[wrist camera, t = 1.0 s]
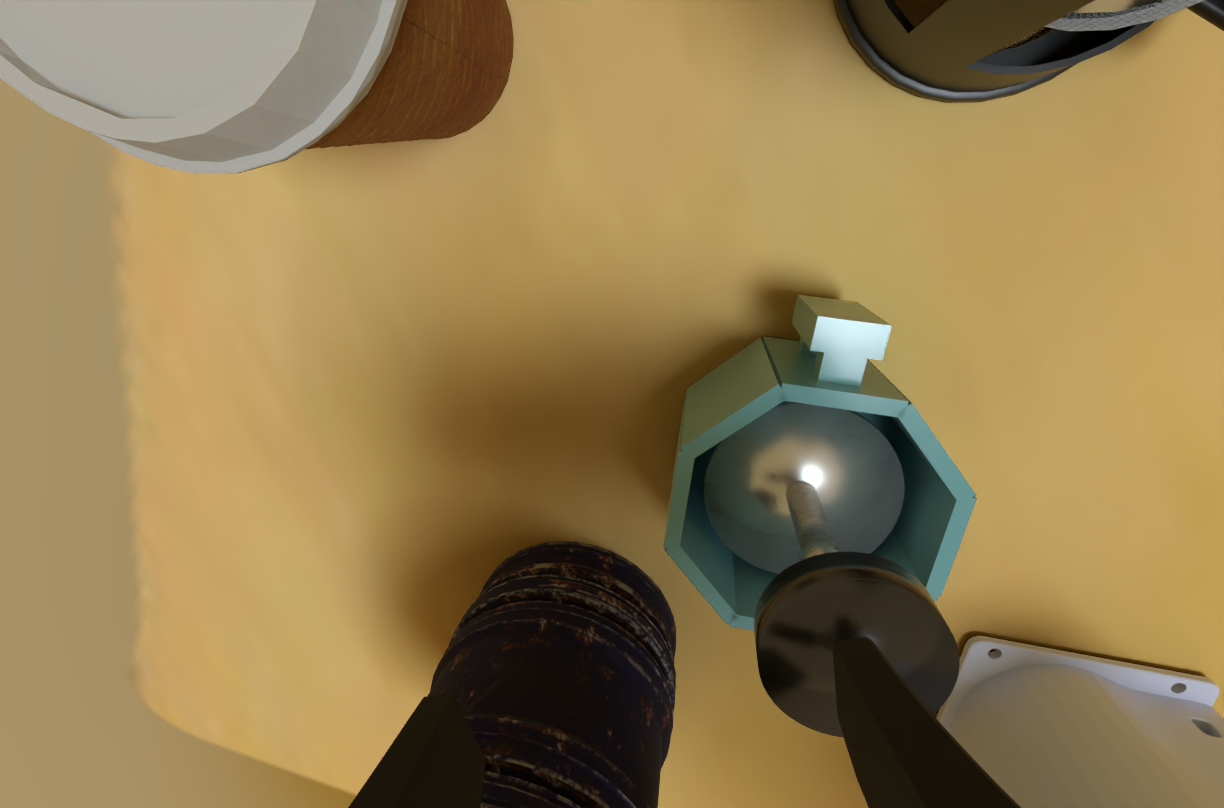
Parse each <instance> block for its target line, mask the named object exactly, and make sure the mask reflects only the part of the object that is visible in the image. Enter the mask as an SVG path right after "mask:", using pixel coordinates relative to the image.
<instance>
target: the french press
mask: <svg viewBox="0 0 1224 808" xmlns="http://www.w3.org/2000/svg"><path fill="white" fill-rule="evenodd" d="M834 1H835V5H836V9H837V13H838V17H839V19H840V21H841V23H842V25H843V27H844V29H845V31H846V33H847V35H848V37H849V39H850V41H851V43H852V45H853V46H854V47H855V49H856V50H857V51H858V52H859V54H860V55H861V56H862V57H863V59H864V60H865V61H866V62H867V64H868V65H869V66H870V67H871V68H872V69H874V70H875V71H876V72H877V73H879V74H880V75H881V76H883V77H884V78H885V79H886V80H888V81H889V82H890V83H891V84H893V85H895V86H897V87H899V88H901V89H904V90H906V91H908V92H910V93H912V94H915V95H917V96H919V97H924V98H929V99H934V100H938V101H943V102H948V103H952V102H983V101H988V100H992V99H997V98H1002V97H1007V96H1011V95H1015V94H1017V93H1020V92H1022V91H1025V90H1027V89H1030V88H1032V87H1035V86H1037V85H1040V84H1042V83H1045V82H1047V81H1049V80H1051V79H1053V78H1055V77H1056V76H1058V75H1059V74H1061V73H1063V72H1064V71H1066V70H1068V69H1069V68H1071V67H1073V66H1074V65H1076V64H1078V63H1079V62H1081V61H1084V60H1086V59H1089V58H1091V57H1094V56H1096V55H1098V54H1101V53H1103V52H1106V51H1108V50H1110V49H1112V48H1114V47H1115V46H1117V45H1119V44H1120V43H1122V42H1124V41H1125V40H1127V39H1129V38H1130V37H1132V36H1134V35H1135V34H1137V33H1139V32H1140V31H1142V30H1144V29H1145V28H1147V27H1148V26H1150V25H1151V24H1152V23H1153V22H1154V21H1156V20H1158V19H1160V18H1163V17H1165V16H1168V15H1170V14H1172V13H1175V12H1177V11H1180V10H1182V9H1185V8H1187V9H1189V10H1190V11H1192V12H1194V13H1195V14H1197V15H1199V16H1200V17H1202V18H1203V19H1205V20H1207V21H1208V22H1210V23H1211V24H1213V25H1215V26H1216V27H1218V28H1219V29H1221V30H1223V31H1224V0H946V1H945V2H944V3H943V4H941V5H940V6H939V7H938V8H937V9H935V10H934V11H933V12H932V13H931V14H929V15H928V16H927V17H926V18H925V19H923V20H922V21H921V22H920V23H919V24H917V25H916V26H915V27H913V26H912V24H911V23H910V22H909V20H908V19H907V18H906V17H905V15H904V14H903V13H902V11H901V10H900V9H899V8H898V6H897V5H896V4H895V2H894V1H893V0H834ZM1042 27H1048V28H1053V29H1052V30H1050V31H1048V32H1047V33H1045V34H1044V35H1042V36H1041V37H1039V38H1037V39H1035V40H1032V41H1030V42H1028V43H1025V44H1023V45H1021V46H1018V47H1014V48H1010V49H1005V50H1001V51H998V50H1000V49H1001V48H1003V47H1005V46H1007V45H1009V44H1011V43H1013V42H1015V41H1017V40H1019V39H1021V38H1023V37H1025V36H1027V35H1029V34H1031V33H1033V32H1034V31H1036V30H1038V29H1040V28H1042ZM996 51H997V52H996Z"/></svg>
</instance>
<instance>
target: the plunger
mask: <svg viewBox="0 0 1224 808" xmlns="http://www.w3.org/2000/svg"><path fill="white" fill-rule="evenodd" d="M904 490H905V486H904V475H903V471H902V467H901V464H900V461H899V459H898V457H897V454H896V452H895V451H894V449H893V448H892V446H891V444H890V443H889V441H888V440H887V439H886V438H885V436H884V435H883V434H882V433H881V432H880V430H879V429H878V428H877V427H876V426H874V425H873V424H872V423H871V422H870V421H869V420H867V419H866V418H864V417H863V416H861V415H860V414H858V413H856V412H854V411H851V410H844V409H837V408H831V407H824V406H817V405H810V404H803V403H797V402H790V401H785V402H781V403H780V404H778V405H777V406H775V407H774V408H772V409H770V410H769V411H767V412H766V413H764V414H763V415H761V416H760V417H758V418H756V419H755V420H753V421H752V422H750V423H749V424H747V425H746V426H744V427H742V428H741V429H739V430H738V431H736V432H735V433H733V434H732V435H730V436H728V437H727V438H725V439H724V440H722V441H721V442H719V443H718V444H717V445H716V447H715V449H714V450H713V452H712V454H711V456H710V459H709V461H708V464H707V468H706V472H705V479H704V501H705V507H706V512H707V514H708V517H709V520H710V523H711V525H712V526H713V528H714V530H715V532H716V533H717V535H718V536H719V538H720V539H721V541H722V542H723V543H724V544H725V545H726V546H727V547H728V548H729V549H730V550H731V551H732V552H734V553H735V554H736V555H737V556H738V557H740V558H742V559H743V560H745V561H746V562H748V563H750V564H752V565H754V566H756V567H758V568H761V569H763V570H766V571H769V572H773V573H777V574H778V575H777V576H776V577H775V578H774V579H773V580H772V581H771V582H770V583H769V584H768V586H767V587H766V588H765V590H764V591H763V593H762V595H761V597H760V599H759V601H758V603H757V606H756V610H755V616H754V632H755V642H756V651H757V660H758V668H759V674H760V678H761V681H762V683H763V686H764V688H765V690H766V692H767V693H768V695H769V696H770V698H771V699H772V700H773V702H774V703H775V704H776V705H777V706H778V707H779V708H780V709H781V710H782V711H783V712H784V713H785V714H787V715H788V716H789V717H790V718H792V719H794V720H795V721H797V722H798V723H800V724H802V725H804V726H806V727H808V728H810V729H813V730H816V731H818V732H821V733H825V734H829V735H833V736H839V737H844V736H843V733H842V729H841V726H840V723H839V720H838V715H837V702H836V689H835V676H834V663H833V650H832V642H833V641H840V640H847V639H855V638H862V637H868V638H869V639H871V640H872V641H873V642H874V643H875V644H876V646H877V647H878V648H879V650H880V651H881V652H882V654H883V655H884V656H885V658H886V659H887V660H888V662H889V663H890V664H891V665H892V667H893V668H894V669H895V670H896V672H897V673H898V674H899V675H900V677H901V678H902V679H903V680H904V681H905V683H906V684H907V685H908V686H909V687H910V689H911V690H912V691H913V692H914V693H915V695H916V696H917V697H918V698H919V699H920V700H921V702H922V703H923V704H924V705H925V706H926V707H927V709H928V710H929V711H930V712H931V713H932V714H934V713H935V712H936V711H937V710H938V709H939V708H940V707H941V706H942V705H943V704H944V703H945V702H946V700H947V699H948V697H949V696H950V695H951V693H952V691H953V689H954V687H955V684H956V681H957V678H958V674H959V666H960V663H959V652H958V648H957V644H956V642H955V639H954V637H953V635H952V633H951V631H950V629H949V627H948V626H947V624H946V622H945V620H944V619H943V617H942V615H941V613H940V611H939V610H938V608H937V606H936V604H935V603H934V601H933V599H932V597H931V596H930V594H929V592H928V591H927V589H926V588H925V586H924V585H923V584H922V583H921V582H920V581H919V579H918V578H916V577H915V576H914V575H913V574H912V573H911V572H909V571H908V570H906V569H905V568H903V567H902V566H900V565H898V564H896V563H894V562H892V561H890V560H888V559H885V558H882V557H879V556H876V555H871V554H870V553H872V552H873V551H874V550H875V549H876V548H877V547H878V546H879V545H880V544H881V543H882V542H883V541H884V540H885V539H886V538H887V536H888V535H889V534H890V532H891V531H892V529H893V527H894V526H895V524H896V522H897V520H898V517H899V515H900V512H901V509H902V505H903V501H904Z"/></svg>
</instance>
